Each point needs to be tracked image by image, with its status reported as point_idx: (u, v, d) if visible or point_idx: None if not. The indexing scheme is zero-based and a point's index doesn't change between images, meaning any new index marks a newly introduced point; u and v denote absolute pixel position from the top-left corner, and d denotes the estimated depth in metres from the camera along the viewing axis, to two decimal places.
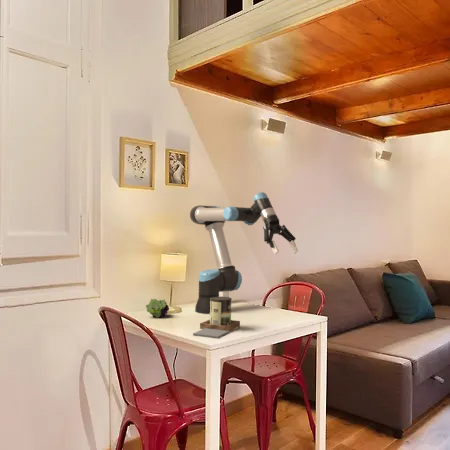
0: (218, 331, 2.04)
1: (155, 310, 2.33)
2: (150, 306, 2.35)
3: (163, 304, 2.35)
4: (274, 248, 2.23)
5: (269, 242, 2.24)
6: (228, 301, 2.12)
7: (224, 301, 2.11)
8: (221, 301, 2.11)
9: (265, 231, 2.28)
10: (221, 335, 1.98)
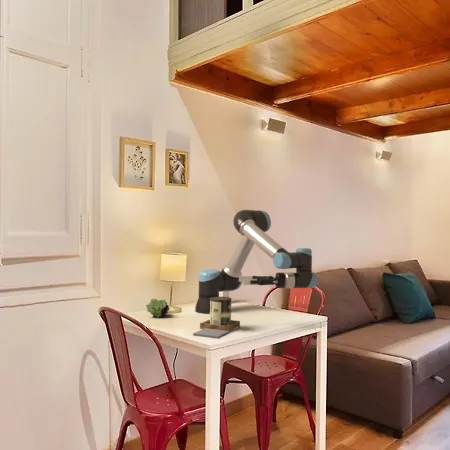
0: (218, 331, 2.04)
1: (155, 310, 2.34)
2: (150, 306, 2.35)
3: (163, 304, 2.35)
4: (248, 282, 2.10)
5: (256, 281, 2.09)
6: (228, 301, 2.12)
7: (224, 301, 2.11)
8: (221, 301, 2.11)
9: (270, 282, 2.10)
10: (221, 335, 1.98)
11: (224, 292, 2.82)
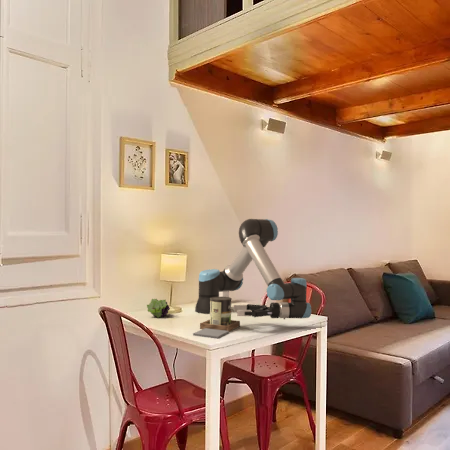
0: (218, 331, 2.04)
1: (156, 310, 2.34)
2: (151, 306, 2.35)
3: (164, 304, 2.36)
4: (242, 313, 2.09)
5: (250, 313, 2.08)
6: (228, 301, 2.12)
7: (224, 301, 2.11)
8: (221, 301, 2.11)
9: (264, 313, 2.10)
10: (221, 335, 1.98)
11: (224, 292, 2.82)
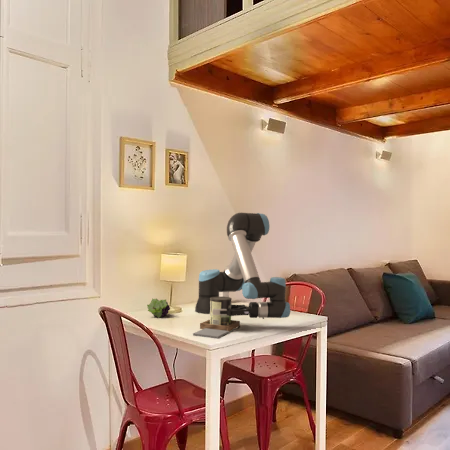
0: (218, 331, 2.04)
1: (156, 310, 2.34)
2: (151, 306, 2.36)
3: (164, 304, 2.36)
4: (217, 312, 2.10)
5: (226, 312, 2.09)
6: (228, 301, 2.12)
7: (224, 301, 2.11)
8: (221, 301, 2.11)
9: (240, 312, 2.09)
10: (221, 335, 1.98)
11: (224, 292, 2.82)
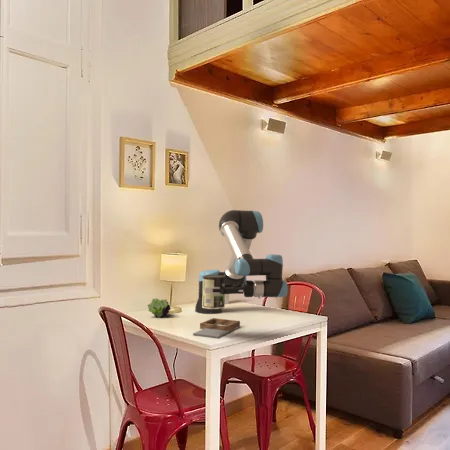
0: (218, 331, 2.04)
1: (157, 310, 2.35)
2: (152, 306, 2.36)
3: (165, 304, 2.36)
4: (210, 290, 1.97)
5: (219, 290, 1.96)
6: (221, 279, 2.00)
7: (217, 279, 1.98)
8: (214, 279, 1.98)
9: (234, 291, 1.97)
10: (221, 335, 1.98)
11: None
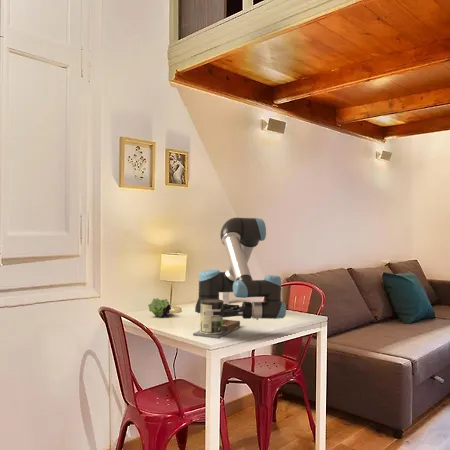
0: None
1: (157, 309, 2.35)
2: (152, 305, 2.36)
3: (165, 303, 2.37)
4: (210, 313, 1.95)
5: (219, 313, 1.94)
6: (219, 304, 1.99)
7: (215, 304, 1.98)
8: (212, 304, 1.97)
9: (234, 313, 1.95)
10: (221, 335, 1.98)
11: (224, 292, 2.82)
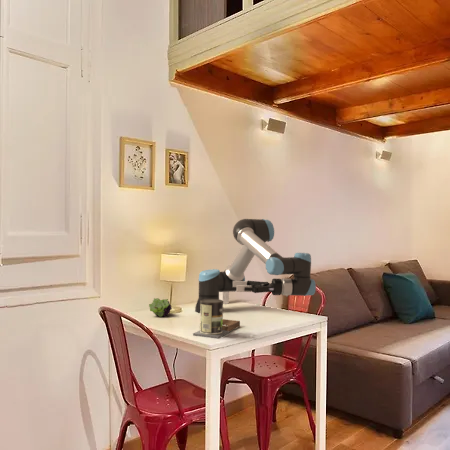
0: None
1: (158, 309, 2.36)
2: (153, 305, 2.37)
3: (166, 303, 2.37)
4: (242, 289, 1.96)
5: (251, 289, 1.95)
6: (219, 304, 1.99)
7: (215, 304, 1.97)
8: (212, 304, 1.97)
9: (265, 289, 1.96)
10: (221, 335, 1.98)
11: (224, 292, 2.82)
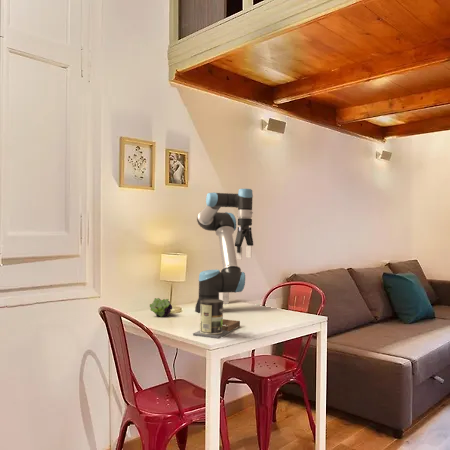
0: None
1: (159, 309, 2.36)
2: (154, 305, 2.37)
3: (167, 303, 2.38)
4: (239, 254, 2.30)
5: (238, 247, 2.29)
6: (219, 304, 1.99)
7: (215, 304, 1.97)
8: (212, 304, 1.97)
9: (239, 234, 2.30)
10: (221, 335, 1.98)
11: None
